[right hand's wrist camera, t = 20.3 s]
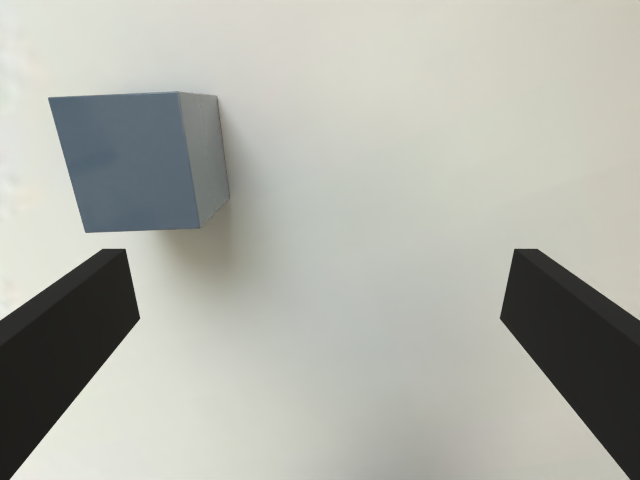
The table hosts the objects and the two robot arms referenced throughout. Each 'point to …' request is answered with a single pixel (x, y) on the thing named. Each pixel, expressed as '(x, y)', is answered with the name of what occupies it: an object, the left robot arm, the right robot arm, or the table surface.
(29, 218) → the table surface
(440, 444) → the table surface
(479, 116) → the table surface
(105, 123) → the grey cube
